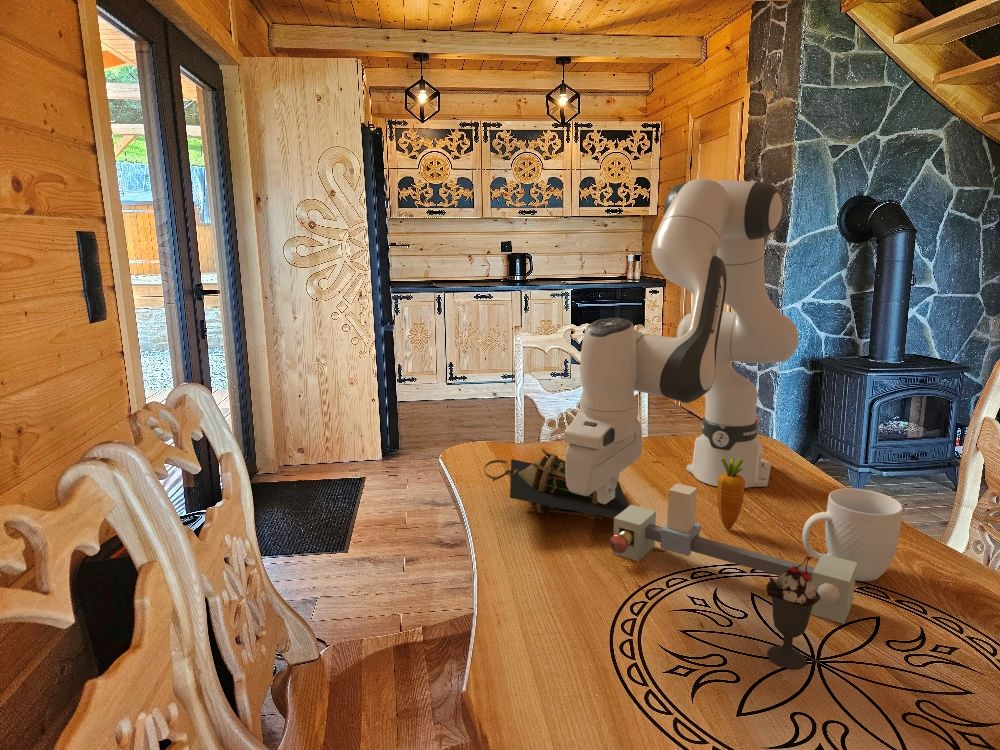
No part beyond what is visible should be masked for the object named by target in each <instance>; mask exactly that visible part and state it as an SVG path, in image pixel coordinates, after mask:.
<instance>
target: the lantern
mask: <svg viewBox="0 0 1000 750" xmlns="http://www.w3.org/2000/svg"><path fill="white" fill-rule="evenodd" d="M541 452H542V453H544V455H543V456H542V457H541V458H539V459H538V460H536V461H535V462H533V463H532V462H527V461H522V460H518V459H513V458H511V461H510V468H509V463H508V460H507V459H506V460H503V459H494V460H490V461H488V462H487V463H486V464H485V466H484V468H483V472H484V475H485V476H486V477H487V478H489V479H491V480H492V482H494V481H496V480H499V479H501V478H503V477H505V476H506V475H507V476H509V478H510V481H509V482H510V484H509V486H510V487H509V498H510V499H511V500H519V501H523V502H528V503H529V505H530V506H531V507H530V508H527V509H526V511H525V513H527V512H529V511H537V512H538V513H545V512H551V513H561V514H569V515H579V516H586V517H587V516H588V517H589V518H591V519H596V518H600V520H601V521H603V520H604V517H605V518H609V519H610V518H611V519H614V518H615V517H616V516H617V515H618V514H620V513H621V512H622V511H624V510H625V509H626V508H627V507H629V506H630V505H629V504H628V501H627V499H626V496H625V494H624V491H623V490H622V487H621V484H620V482H619V481H618V483H617V486H616V488H615V497H614V498H613V499H612V500H610V501H609V502H608V503H607V504H602V503H599V502H598V500H597V491H596V490H595V491H594V492H593V493H591V494H590V495H588V496H584V495H579V494H576V493H572V492H570V491H569V489H568V487H567V485H566V469H565V460H564V459H562V458H559V455H558V454H557V455H556V454H554V453H548V452H547V451H546V450H545V449H544V448H543V447H541ZM496 463H499V464H500V463H501V464H505V466H506V468H507V469H505V471H504V473H502V474H501V475H498V476H493V475H490V474H489V473H488V472H486V468H487V467H488V466H489V465H492V464H496Z"/></svg>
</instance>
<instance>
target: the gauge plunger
mask: <svg viewBox="0 0 1000 750" xmlns="http://www.w3.org/2000/svg"><path fill="white" fill-rule="evenodd" d="M633 540H634V531H631V530H627V529H624V530H623V531H622V532H621V533H620V534H615V535H614V536H613V535H612V536H610V538H609V540H608V541H609V547H610V548H611V550H612V552H613V551H614V552H616V553H623V552H624V551H625V550H626V549H627V548H628V545H629V544H630V543H631V542H632V541H633Z"/></svg>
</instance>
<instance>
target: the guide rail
mask: <svg viewBox="0 0 1000 750" xmlns="http://www.w3.org/2000/svg"><path fill="white" fill-rule="evenodd" d="M628 506H629V507H627V508H626V509H625V510H624V511H622V512H621V513H620V514H618V515H617V516H616V517H615V518H613V535H612V536H614V535H615V534H620V533H621V532H622V531H623V530H624V529H627V530H631V531H634V540H633V541H632V542H631V543H630V544H629V545H628V548H627V549H626V550H625V551H624V552H623V553H616V552H614V551H613V550H612V554H613V555H616V556H619V557H623V558H625V559H629V560H633V561H636V562H640V561H641V560H642V559H643V558H644V557H645V556H646V555H647V554H648V553H649V552H650V551H651V550H652V549H653V548H655V542H658V543H661V536H660V529H661V528H662V527H663V526H660V525H657V524H656V519H657V518H656V517H657V511H656V510H653V509H649V508H644V507H641V506H638V505H633V504H630V505H628ZM691 552H693V553H698V554H699V555H705V556H708V557H709V558H710V557H711V558H713V559H717V560H718V559H719V560H722V561H725V562H728V563H733V564H736V565H740V566H743V567H746V568H749V569H753V570H755V571H756V570H757V571H761V572H762V573H763V572H764V573H768V574H771V575H775V576H777V577H778V576H779V575H780V574H782V573H783V572H784V571H787V570H790V569H791V567H793V566H796V567H798V566H799V565H801V564H802V563H798V562H794V561H791V560H787V559H783V558H779V557H776V556H771V555H768V554H765V553H761V552H757V551H753V550H751V549H750V550H749V549H745V548H742V547H738V546H735V545H731V544H727V543H723V542H720V541H716V540H712V539H708V538H704V537H701V536H699V537H698V536H695V537H694V538H693V539H692V540H691ZM821 554H822V555H821V557H820V559H818V561H817V563H816V565H815V567H814V566H810V565H807V572H808V573H809V574H810V579H809V581H811V583H812V584H813V585H814V587H815V591H816V592H817V593H818V594H819V595H820V599H819V601H818V602H817V603H816V604H814V605H813V607H812V610H811V614H810V616H811V615H812V616H815V617H818V618H821V619H825V620H828V621H831V622H834V621H835V623H837V622H839V623H838V624H841V623H842V624H841V625H844V624H846V622H847V619H848V617H849V613H850V611H851V608H852V605H853V601H854V600H853V599H854V593H855V584H856V580H855V578H856V569H857V562H853V561H849V560H845V559H841V558H837V557H834V556H830V555H826V554H827V553H821ZM799 569H800V573H802V572H806V570H805V569H806V564H802V565H801V566H800V567H799ZM847 616H848V617H847Z"/></svg>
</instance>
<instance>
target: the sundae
mask: <svg viewBox="0 0 1000 750" xmlns="http://www.w3.org/2000/svg"><path fill="white" fill-rule="evenodd" d="M811 559H812V556H809V555H808V556H807V555H806V556H805V559H804V561H803V562H802V563H800V564H801V565H806V569H805V570H806V572H802V573H800V569H799V567H800V566H801V565H799V566H798V567H796V566H793V567H791V569H790V570H787V571H784V572H783V573H782V574H780V575H779V576H778V575H777V579H776V578H775V579H774V578H772V577H770V576H769V579H768V580H769V582H767V583H766V586H765V587H766V593H767V596H768V597H771V604H772V606H771V607H772V618H773V624H774V625H773V626H774V627H775V628H776V629H777V631H778V632H779V633H780V635H781V634H782V636H783V642H782V645H774V646H771V647H769V649H768V650H767V653H766V654H767V658H769V660H770V661H771V662H772V663H773V664H775V665H777V666H778V667H780V668H785V669H789V670H799V669H802V668H803V667H805V666H806V665H807V659H806V657H805V656H804V654H803V653H802V652H800V651H799V650H797V649H795V648H793V641H794V638H798V637H800V636H802V635H803V634H804V633H805V631H806V629H807V627H808V624H809V621H810V617H811V610H812V607H813V605H814V604H816V603H817V602H818V601H819V599H820V595H819V594H818V593H817V592H816V591H815V587H814V585H813V584H812V583H811V581H809V579H810V574H809V573H808V572H807V566H808V564H809V560H811ZM805 562H806V564H804V563H805Z"/></svg>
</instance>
